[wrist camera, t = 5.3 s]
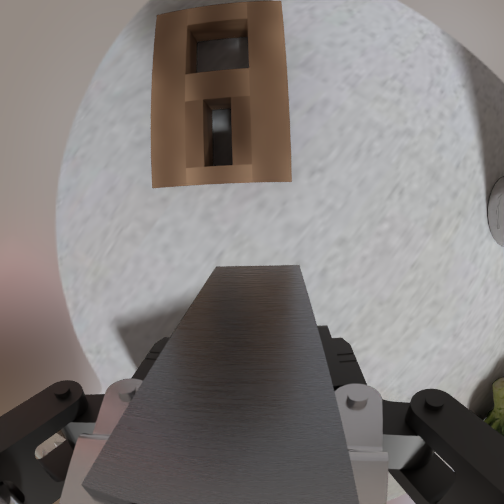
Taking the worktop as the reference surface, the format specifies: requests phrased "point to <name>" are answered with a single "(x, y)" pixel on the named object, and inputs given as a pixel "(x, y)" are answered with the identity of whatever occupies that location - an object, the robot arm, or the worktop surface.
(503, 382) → the vegetable
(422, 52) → the worktop surface
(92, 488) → the steel peg
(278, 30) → the socket block
